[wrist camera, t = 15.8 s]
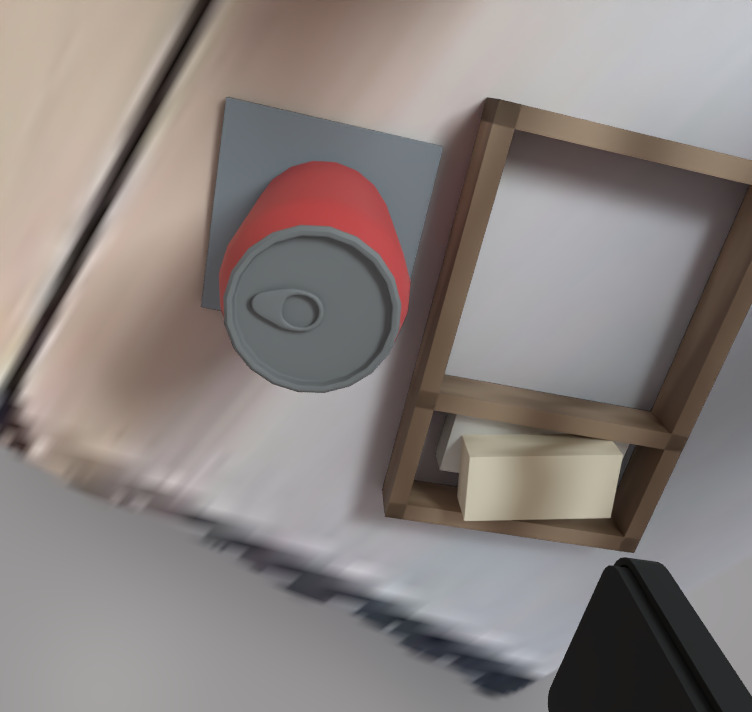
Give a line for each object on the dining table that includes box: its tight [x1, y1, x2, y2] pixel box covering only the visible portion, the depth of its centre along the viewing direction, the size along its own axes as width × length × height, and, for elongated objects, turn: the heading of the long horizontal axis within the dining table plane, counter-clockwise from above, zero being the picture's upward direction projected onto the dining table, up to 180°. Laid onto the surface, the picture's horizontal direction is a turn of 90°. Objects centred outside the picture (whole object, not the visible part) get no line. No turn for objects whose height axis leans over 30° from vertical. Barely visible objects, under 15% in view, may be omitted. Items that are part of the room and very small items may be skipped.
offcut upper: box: [457, 434, 623, 521], centre depth 35 cm, size 8×4×2 cm, turn 89°
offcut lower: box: [435, 413, 629, 473], centre depth 36 cm, size 10×4×2 cm, turn 77°
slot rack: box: [382, 98, 752, 553], centre depth 33 cm, size 15×22×2 cm
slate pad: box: [201, 97, 443, 343], centre depth 31 cm, size 10×10×1 cm
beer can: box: [219, 161, 411, 393], centre depth 25 cm, size 7×7×12 cm
